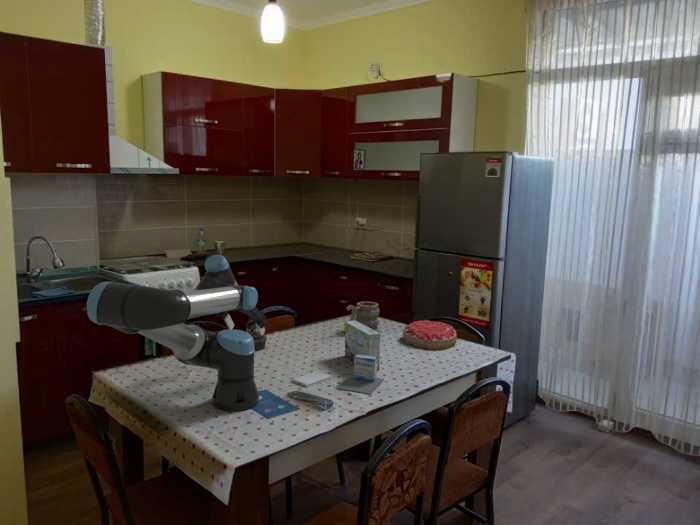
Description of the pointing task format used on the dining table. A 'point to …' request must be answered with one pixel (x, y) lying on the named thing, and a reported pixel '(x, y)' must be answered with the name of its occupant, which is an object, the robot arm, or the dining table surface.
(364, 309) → the tankard
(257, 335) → the cupcake
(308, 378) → the hard drive
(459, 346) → the dining table surface
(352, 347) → the snack box
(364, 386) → the rubber mat
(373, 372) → the medicine box
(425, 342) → the cake
